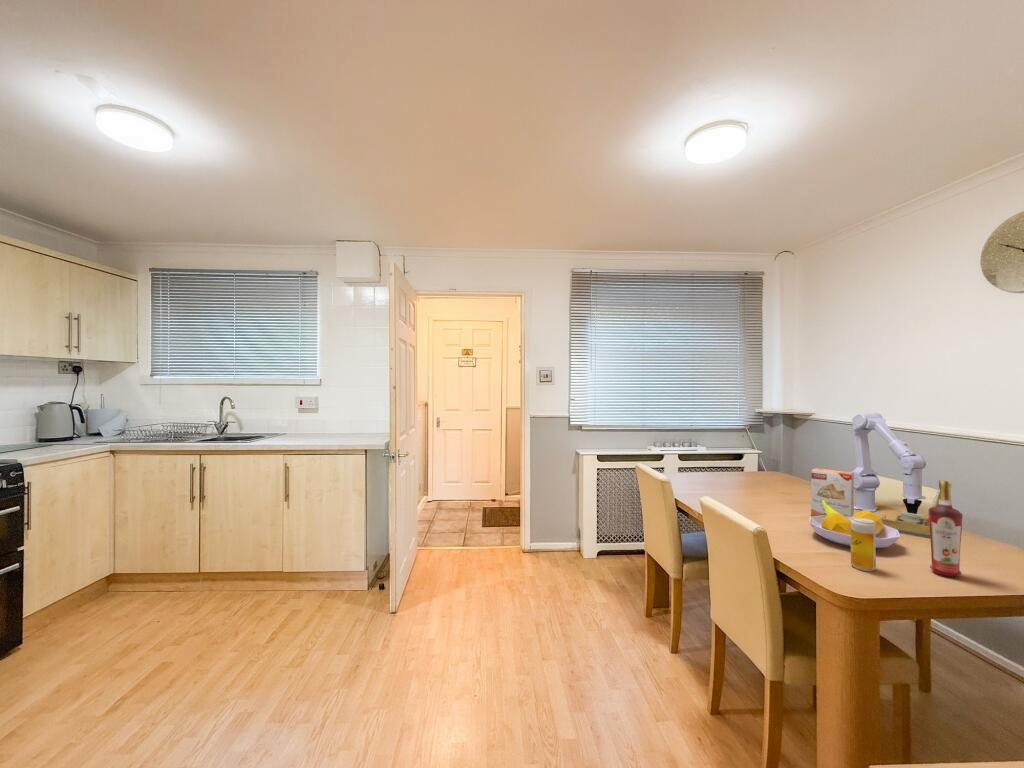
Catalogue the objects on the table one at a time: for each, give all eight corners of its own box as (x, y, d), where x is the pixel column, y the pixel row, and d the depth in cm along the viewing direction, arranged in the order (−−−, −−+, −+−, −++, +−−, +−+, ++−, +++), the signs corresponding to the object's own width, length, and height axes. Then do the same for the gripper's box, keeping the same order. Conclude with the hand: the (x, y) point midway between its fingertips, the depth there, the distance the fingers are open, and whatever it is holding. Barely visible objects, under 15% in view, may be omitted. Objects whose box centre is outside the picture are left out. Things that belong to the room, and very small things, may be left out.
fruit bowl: (917, 560, 143) (917, 525, 143) (820, 550, 152) (820, 517, 152) (878, 532, 170) (878, 503, 170) (797, 525, 178) (796, 497, 179)
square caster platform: (897, 521, 179) (897, 509, 179) (926, 526, 173) (926, 513, 173) (894, 527, 172) (894, 514, 172) (925, 532, 166) (925, 519, 166)
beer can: (851, 562, 141) (851, 515, 141) (875, 567, 137) (875, 519, 137) (850, 568, 137) (850, 520, 137) (875, 573, 133) (875, 524, 133)
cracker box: (810, 518, 188) (810, 469, 188) (813, 515, 192) (813, 467, 192) (851, 525, 178) (851, 474, 178) (854, 522, 183) (853, 471, 183)
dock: (883, 520, 185) (882, 510, 185) (942, 530, 172) (942, 519, 172) (877, 528, 174) (877, 518, 174) (941, 540, 161) (941, 529, 161)
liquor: (961, 573, 133) (961, 481, 133) (963, 582, 127) (963, 485, 127) (928, 567, 138) (927, 477, 138) (929, 574, 132) (928, 481, 132)
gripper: (924, 489, 173) (924, 523, 173) (926, 483, 183) (926, 515, 183) (900, 486, 178) (900, 519, 178) (904, 480, 188) (904, 512, 188)
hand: (912, 517), depth 181 cm, fingers closed
